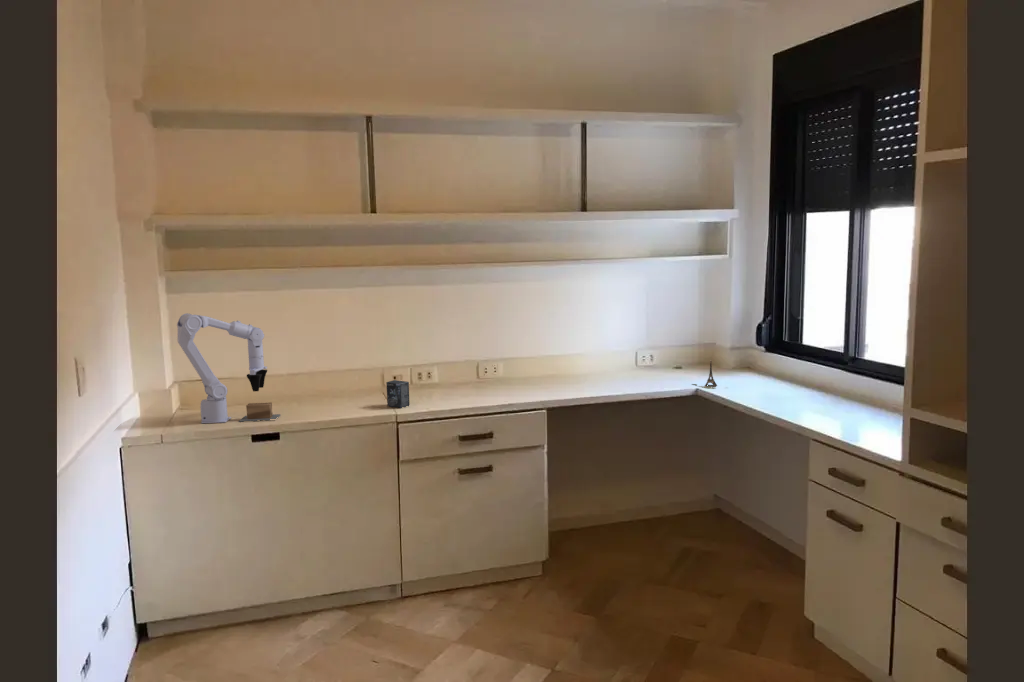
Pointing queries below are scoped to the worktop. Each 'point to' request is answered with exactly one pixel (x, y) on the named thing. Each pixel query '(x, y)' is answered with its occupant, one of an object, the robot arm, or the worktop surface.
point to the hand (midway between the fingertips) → (258, 389)
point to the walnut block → (259, 410)
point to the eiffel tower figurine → (709, 380)
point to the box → (397, 393)
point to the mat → (259, 419)
